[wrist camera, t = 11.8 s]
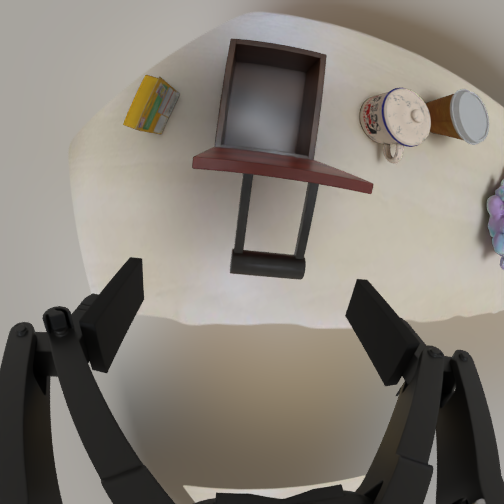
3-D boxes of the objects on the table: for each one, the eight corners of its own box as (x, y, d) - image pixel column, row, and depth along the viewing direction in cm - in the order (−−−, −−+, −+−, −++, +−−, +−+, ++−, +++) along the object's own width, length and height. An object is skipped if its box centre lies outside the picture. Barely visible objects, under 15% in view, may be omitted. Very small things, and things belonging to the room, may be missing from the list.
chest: (231, 58, 35) (230, 38, 27) (310, 70, 36) (326, 54, 28) (218, 149, 40) (214, 149, 32) (298, 160, 42) (313, 163, 33)
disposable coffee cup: (448, 102, 38) (489, 99, 26) (448, 145, 41) (490, 151, 30) (414, 88, 37) (455, 80, 26) (414, 135, 40) (456, 137, 29)
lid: (193, 156, 17) (185, 283, 20) (374, 183, 18) (343, 295, 22) (214, 146, 32) (207, 218, 35) (314, 160, 33) (302, 228, 37)
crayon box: (164, 88, 36) (141, 69, 25) (180, 93, 37) (161, 75, 26) (145, 128, 38) (116, 123, 27) (161, 134, 39) (136, 130, 28)
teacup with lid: (358, 89, 37) (393, 76, 27) (402, 102, 38) (442, 96, 27) (354, 156, 42) (389, 161, 31) (398, 165, 42) (438, 173, 32)
